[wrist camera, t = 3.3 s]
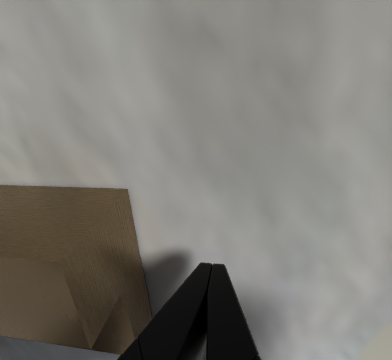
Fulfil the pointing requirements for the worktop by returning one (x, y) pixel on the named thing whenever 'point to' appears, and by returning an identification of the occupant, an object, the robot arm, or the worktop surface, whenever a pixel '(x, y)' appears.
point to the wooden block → (71, 268)
